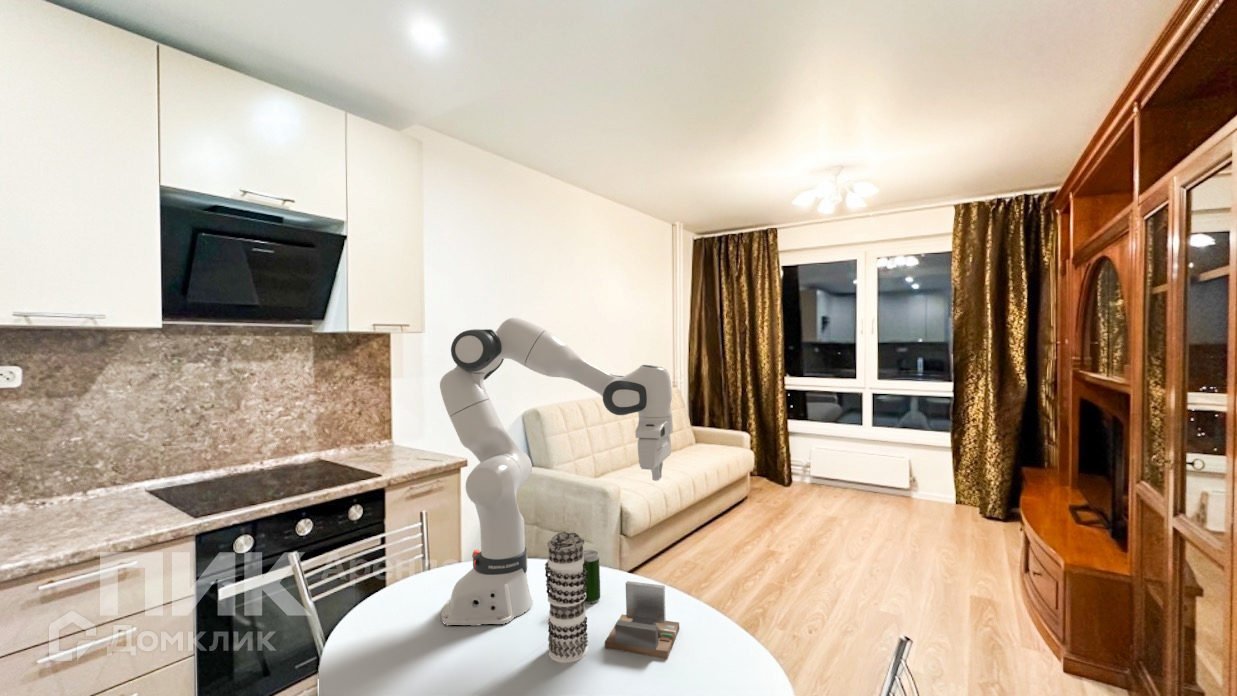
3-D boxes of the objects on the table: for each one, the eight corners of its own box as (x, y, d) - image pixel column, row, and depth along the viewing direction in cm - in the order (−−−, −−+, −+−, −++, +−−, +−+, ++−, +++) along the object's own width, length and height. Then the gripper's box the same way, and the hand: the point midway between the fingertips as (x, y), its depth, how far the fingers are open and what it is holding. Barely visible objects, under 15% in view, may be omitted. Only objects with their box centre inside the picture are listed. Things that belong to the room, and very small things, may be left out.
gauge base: (622, 620, 124) (621, 597, 124) (679, 629, 119) (678, 605, 119) (605, 648, 112) (604, 622, 112) (667, 658, 108) (666, 632, 108)
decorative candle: (561, 636, 118) (558, 526, 118) (596, 644, 114) (593, 531, 114) (538, 657, 109) (535, 540, 110) (576, 668, 106) (573, 546, 106)
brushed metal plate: (628, 620, 120) (627, 581, 120) (678, 627, 116) (677, 587, 116) (621, 632, 115) (620, 591, 115) (673, 640, 111) (672, 597, 112)
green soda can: (586, 606, 131) (585, 559, 131) (576, 598, 136) (575, 553, 136) (604, 600, 134) (603, 554, 134) (593, 592, 138) (592, 548, 139)
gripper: (653, 421, 146) (655, 469, 146) (633, 432, 126) (634, 488, 126) (675, 421, 144) (677, 471, 144) (658, 432, 124) (659, 490, 124)
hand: (657, 479), depth 135 cm, fingers closed
